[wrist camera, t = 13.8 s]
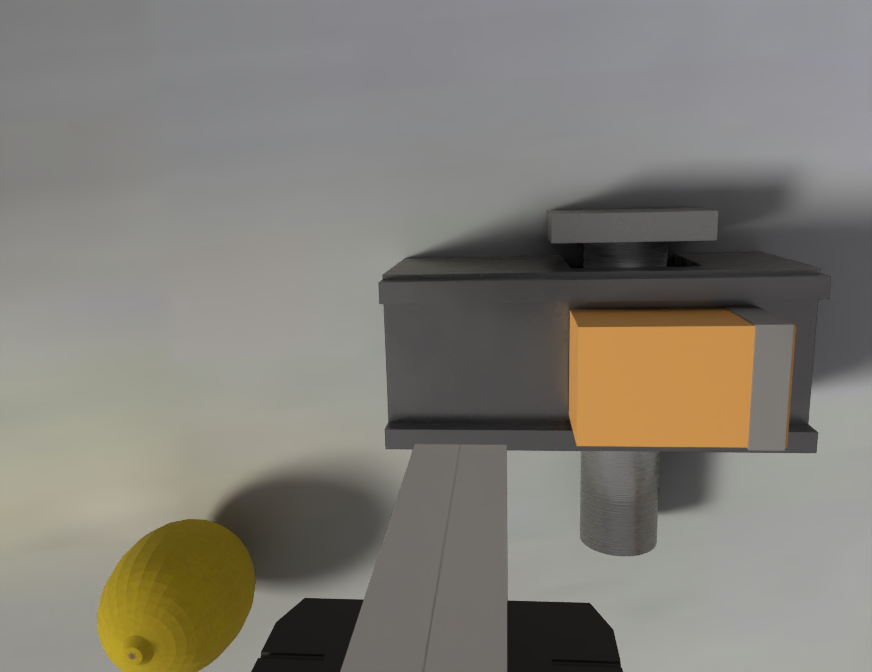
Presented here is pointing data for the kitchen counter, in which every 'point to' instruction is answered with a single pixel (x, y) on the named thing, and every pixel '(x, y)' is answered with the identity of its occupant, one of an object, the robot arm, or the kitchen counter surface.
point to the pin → (625, 470)
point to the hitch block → (555, 339)
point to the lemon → (176, 598)
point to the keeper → (681, 377)
